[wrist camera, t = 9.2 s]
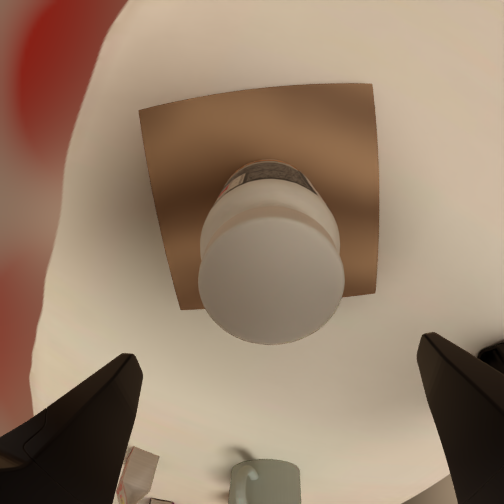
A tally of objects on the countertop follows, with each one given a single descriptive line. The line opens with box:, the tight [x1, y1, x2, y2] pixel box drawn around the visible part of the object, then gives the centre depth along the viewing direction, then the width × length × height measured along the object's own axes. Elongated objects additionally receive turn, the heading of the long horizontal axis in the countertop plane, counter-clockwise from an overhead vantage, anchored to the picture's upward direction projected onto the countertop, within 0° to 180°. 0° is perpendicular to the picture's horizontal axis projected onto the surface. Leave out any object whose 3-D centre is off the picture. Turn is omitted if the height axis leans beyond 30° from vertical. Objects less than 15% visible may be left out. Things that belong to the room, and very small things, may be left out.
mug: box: [228, 459, 301, 504], centre depth 29 cm, size 14×9×10 cm
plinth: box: [139, 83, 379, 310], centre depth 19 cm, size 14×14×1 cm
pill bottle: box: [198, 159, 345, 345], centre depth 14 cm, size 6×6×10 cm
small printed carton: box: [116, 446, 159, 504], centre depth 31 cm, size 4×7×10 cm, turn 153°
